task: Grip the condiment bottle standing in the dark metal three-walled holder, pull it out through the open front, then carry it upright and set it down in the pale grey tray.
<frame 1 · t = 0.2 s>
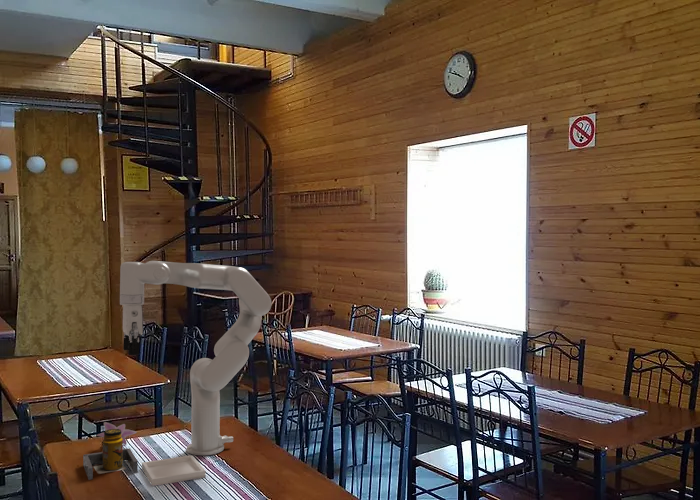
hand: (131, 352, 219), 36 cm above the table, tool pointing down, fingers open, 9 cm apart
lily: (116, 448, 233), on the table
condiment: (109, 469, 213), resting in holder
tray: (173, 472, 209), on the table
holder: (110, 469, 212), on the table
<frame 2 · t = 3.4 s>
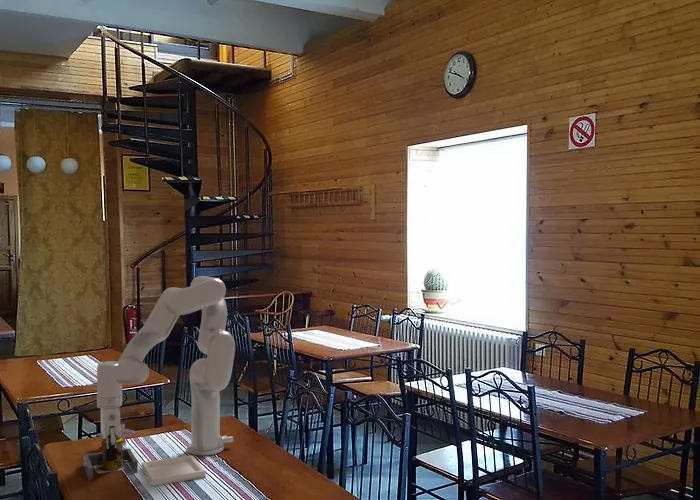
hand: (109, 456, 213), 4 cm above the table, tool pointing down, fingers closed on condiment, 6 cm apart
condiment: (109, 468, 213), resting in holder, touching gripper
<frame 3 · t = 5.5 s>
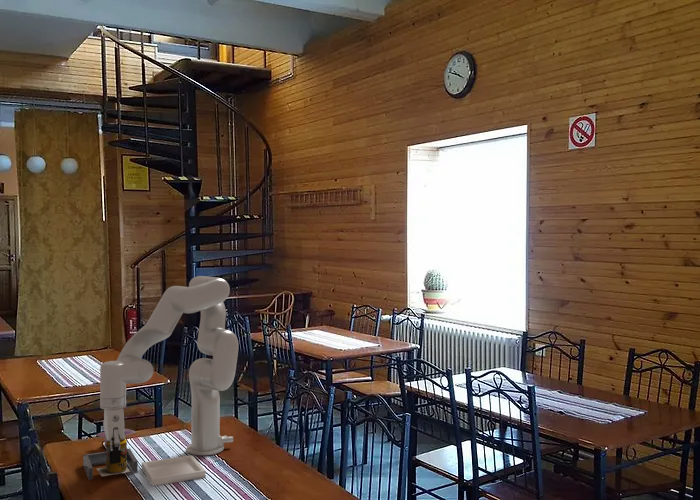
hand: (113, 459, 207), 5 cm above the table, tool pointing down, fingers closed on condiment, 6 cm apart
condiment: (113, 471, 207), point 1 cm above the table, touching gripper
everything else where it was.
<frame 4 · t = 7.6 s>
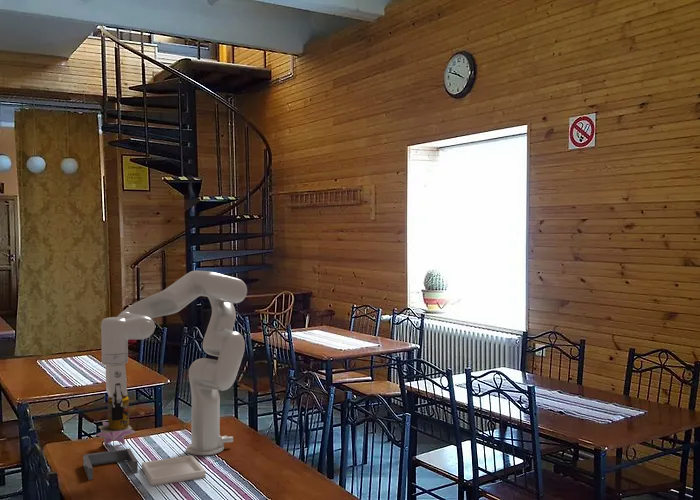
hand: (115, 416, 204), 19 cm above the table, tool pointing down, fingers closed on condiment, 6 cm apart
condiment: (115, 429, 204), point 15 cm above the table, touching gripper
everything else where it was.
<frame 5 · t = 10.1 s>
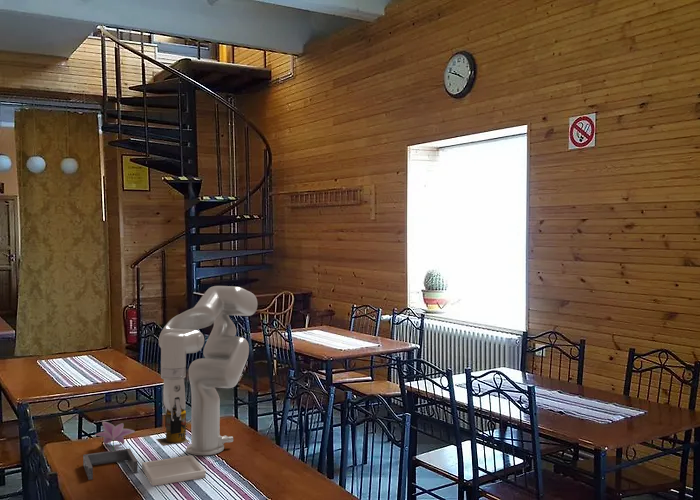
hand: (173, 429, 209), 14 cm above the table, tool pointing down, fingers closed on condiment, 6 cm apart
condiment: (172, 441, 209), point 10 cm above the table, touching gripper
when the fingers open (5 cm above the table, at t = 12.0 s): condiment drops 1 cm, resting on tray.
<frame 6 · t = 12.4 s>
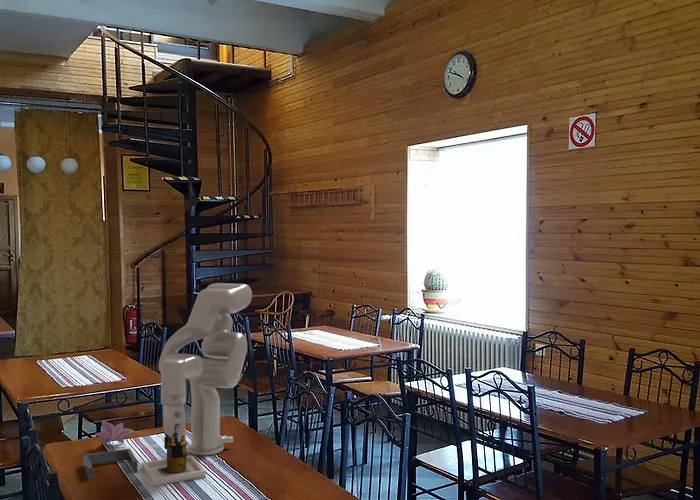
hand: (173, 452, 209), 6 cm above the table, tool pointing down, fingers open, 9 cm apart
condiment: (173, 471, 210), resting on tray
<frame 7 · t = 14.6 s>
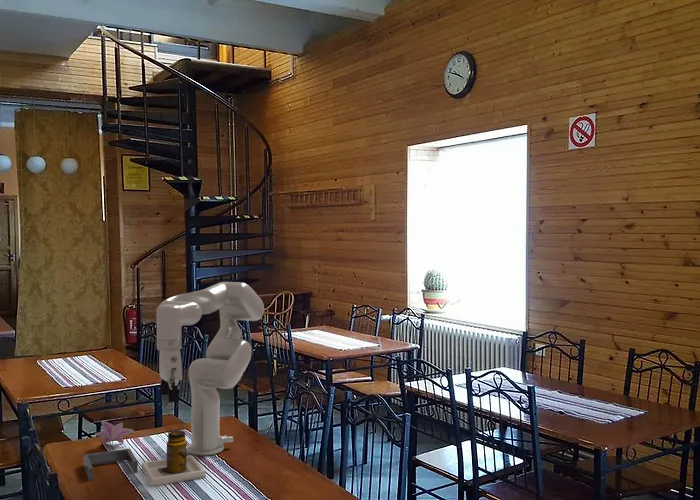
hand: (169, 398, 211), 23 cm above the table, tool pointing down, fingers open, 9 cm apart
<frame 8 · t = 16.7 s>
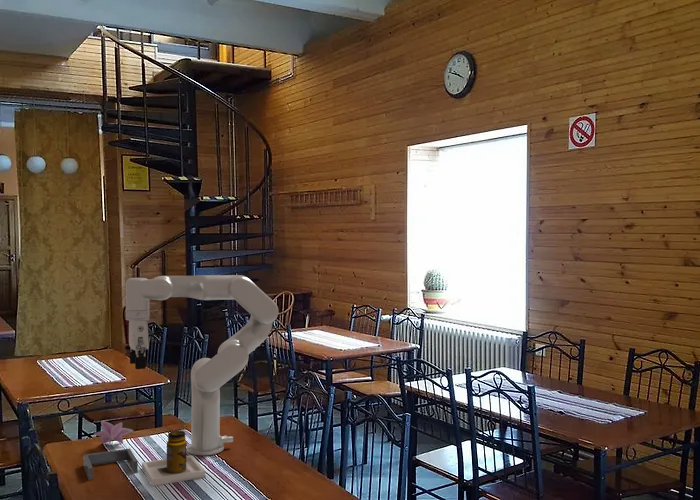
hand: (137, 366, 224), 30 cm above the table, tool pointing down, fingers open, 9 cm apart
at the end: condiment inside the target area on the tray (0.1 cm from its centre), point 0.4 cm above the tray's base; condiment tilted 0°; the gripper is holding nothing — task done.
